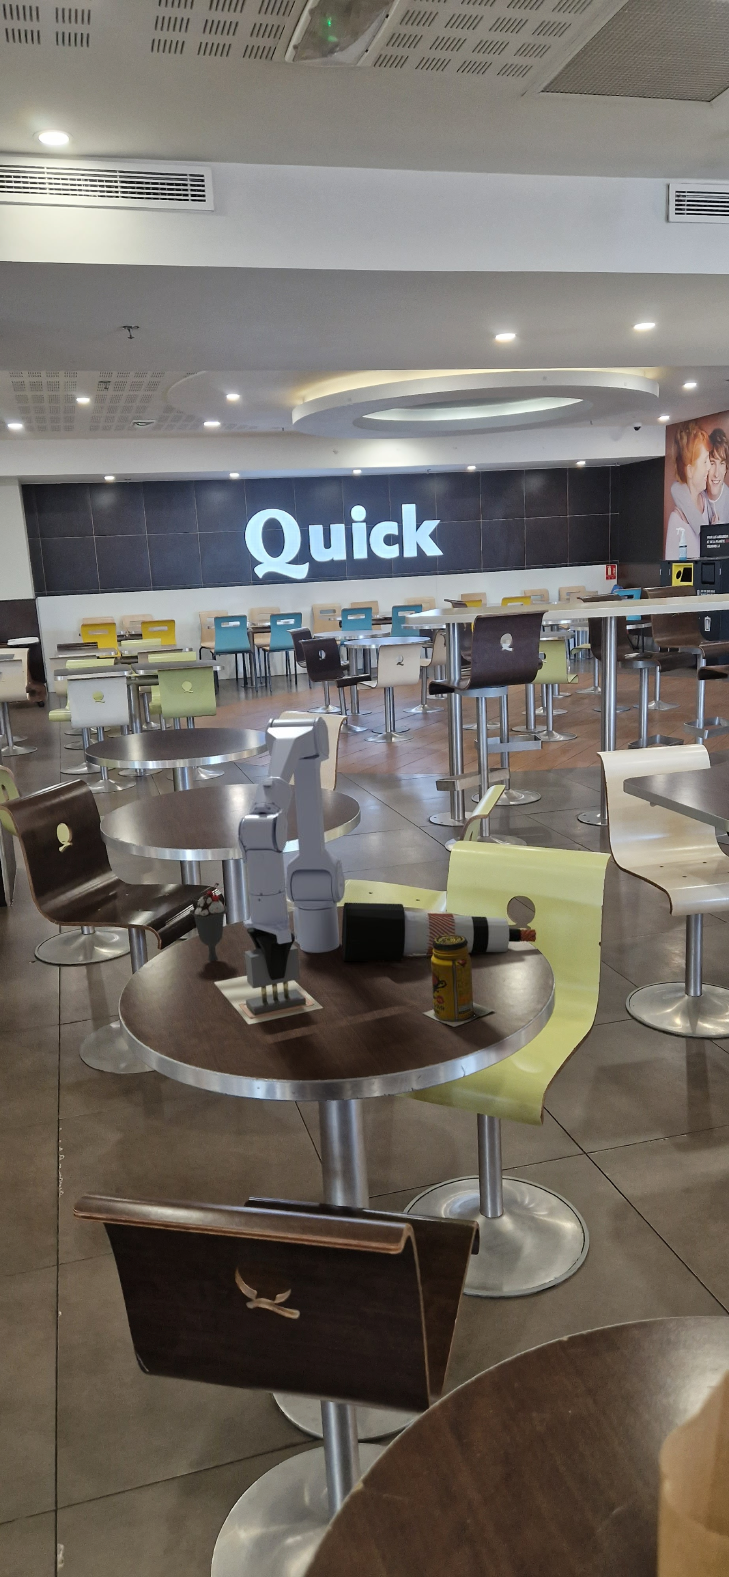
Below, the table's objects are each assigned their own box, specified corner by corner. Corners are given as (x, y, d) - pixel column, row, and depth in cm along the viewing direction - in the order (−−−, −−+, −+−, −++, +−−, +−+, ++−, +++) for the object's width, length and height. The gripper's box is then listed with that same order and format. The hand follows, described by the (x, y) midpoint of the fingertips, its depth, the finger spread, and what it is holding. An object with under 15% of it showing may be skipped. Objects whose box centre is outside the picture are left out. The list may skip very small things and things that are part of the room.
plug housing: (247, 981, 158) (244, 951, 157) (293, 972, 161) (290, 942, 160) (253, 988, 155) (250, 957, 154) (300, 978, 158) (297, 948, 157)
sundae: (238, 964, 181) (231, 883, 178) (204, 973, 177) (197, 891, 174) (222, 954, 186) (215, 876, 183) (188, 963, 182) (181, 883, 180)
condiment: (421, 1014, 154) (418, 939, 152) (462, 999, 159) (459, 926, 157) (453, 1028, 148) (450, 950, 146) (495, 1012, 153) (492, 936, 151)
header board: (214, 987, 170) (211, 959, 169) (281, 973, 175) (279, 946, 174) (249, 1030, 152) (246, 999, 151) (323, 1013, 156) (321, 983, 156)
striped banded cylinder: (534, 976, 179) (545, 936, 173) (342, 973, 176) (346, 931, 170) (524, 935, 187) (534, 895, 181) (341, 931, 184) (344, 890, 178)
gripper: (228, 884, 160) (235, 965, 163) (256, 906, 147) (263, 994, 149) (271, 877, 163) (277, 957, 165) (301, 898, 150) (308, 985, 152)
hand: (273, 974), depth 158 cm, fingers closed on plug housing, 3 cm apart
